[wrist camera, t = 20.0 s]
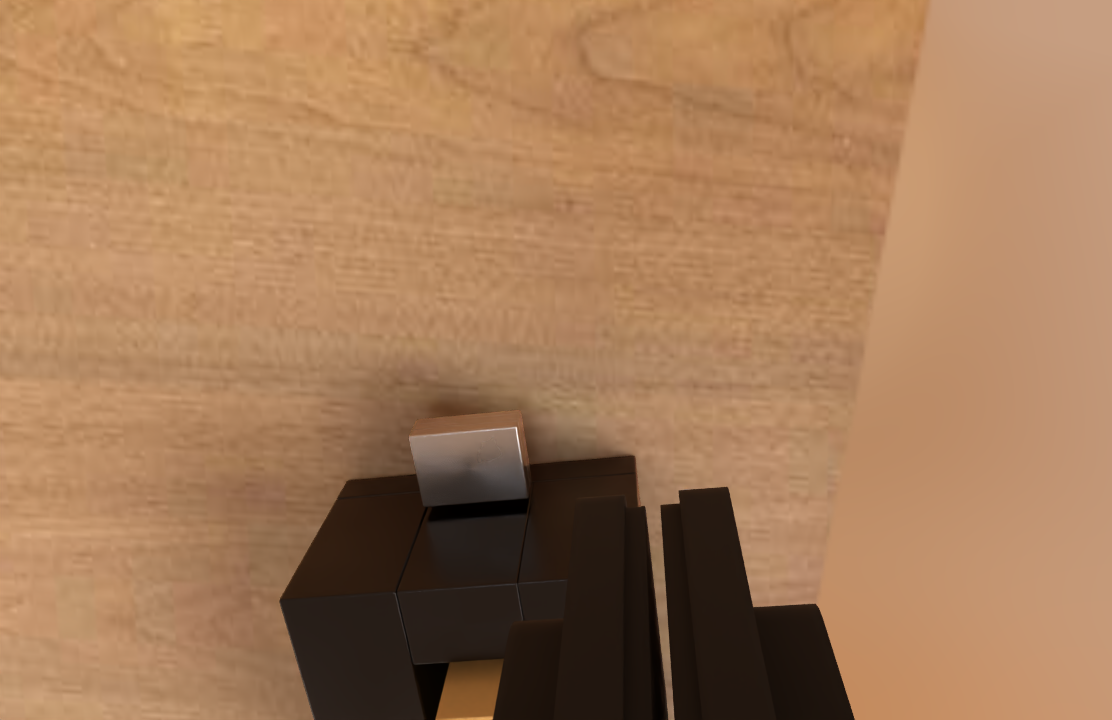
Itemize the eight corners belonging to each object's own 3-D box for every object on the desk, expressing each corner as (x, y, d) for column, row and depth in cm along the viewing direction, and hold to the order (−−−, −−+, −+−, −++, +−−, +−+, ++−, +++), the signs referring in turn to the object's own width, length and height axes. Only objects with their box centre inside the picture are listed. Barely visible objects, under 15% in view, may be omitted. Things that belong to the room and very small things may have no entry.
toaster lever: (520, 408, 32) (516, 426, 31) (532, 479, 33) (528, 499, 32) (416, 418, 32) (407, 436, 31) (430, 488, 34) (422, 508, 32)
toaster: (635, 454, 35) (642, 573, 27) (667, 757, 40) (680, 924, 33) (346, 479, 36) (277, 600, 28) (417, 770, 42) (375, 934, 34)
